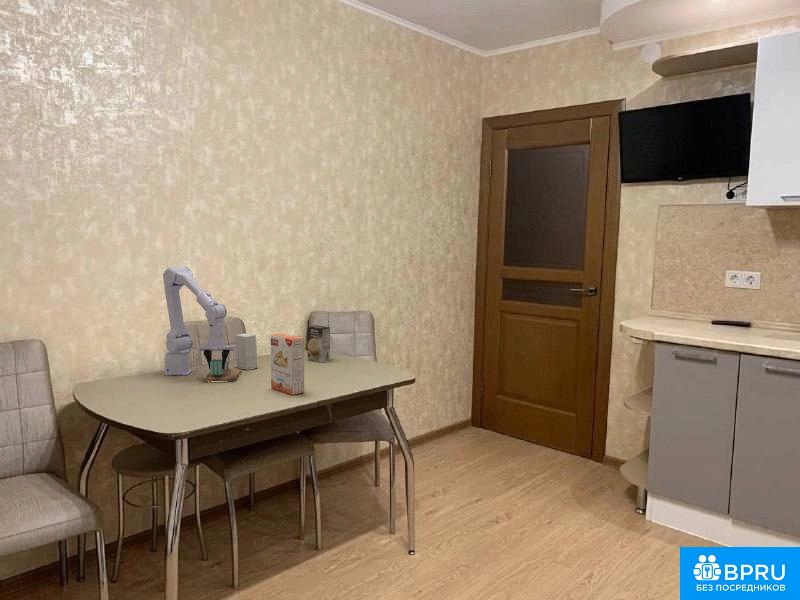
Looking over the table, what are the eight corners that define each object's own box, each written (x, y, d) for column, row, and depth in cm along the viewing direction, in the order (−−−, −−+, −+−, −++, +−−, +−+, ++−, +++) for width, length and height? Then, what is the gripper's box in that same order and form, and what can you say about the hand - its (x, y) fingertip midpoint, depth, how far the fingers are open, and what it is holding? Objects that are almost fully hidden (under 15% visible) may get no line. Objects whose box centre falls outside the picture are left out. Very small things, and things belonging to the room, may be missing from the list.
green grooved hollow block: (209, 374, 248) (209, 362, 248) (212, 371, 254) (212, 359, 253) (221, 374, 249) (221, 362, 248) (223, 371, 254) (223, 359, 254)
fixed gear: (211, 372, 257) (211, 361, 256) (214, 369, 263) (214, 358, 262) (227, 372, 257) (227, 360, 257) (229, 369, 264) (229, 357, 263)
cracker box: (270, 388, 238) (269, 334, 236) (283, 386, 242) (283, 332, 240) (291, 395, 228) (291, 339, 226) (304, 393, 232) (304, 337, 230)
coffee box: (306, 360, 291) (306, 326, 290) (315, 358, 297) (315, 324, 295) (321, 363, 287) (322, 328, 285) (330, 360, 292) (330, 326, 290)
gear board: (204, 382, 246) (204, 371, 246) (212, 372, 264) (212, 361, 263) (235, 382, 248) (235, 370, 247) (241, 372, 265) (241, 361, 265)
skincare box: (257, 368, 272) (257, 335, 271) (245, 370, 268) (245, 336, 267) (247, 365, 278) (247, 332, 277) (235, 367, 274) (235, 333, 273)
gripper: (195, 336, 245) (196, 370, 246) (233, 336, 247) (234, 370, 248) (199, 333, 252) (199, 367, 253) (236, 333, 253) (236, 366, 255)
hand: (216, 368), depth 251 cm, fingers closed on green grooved hollow block, 4 cm apart
